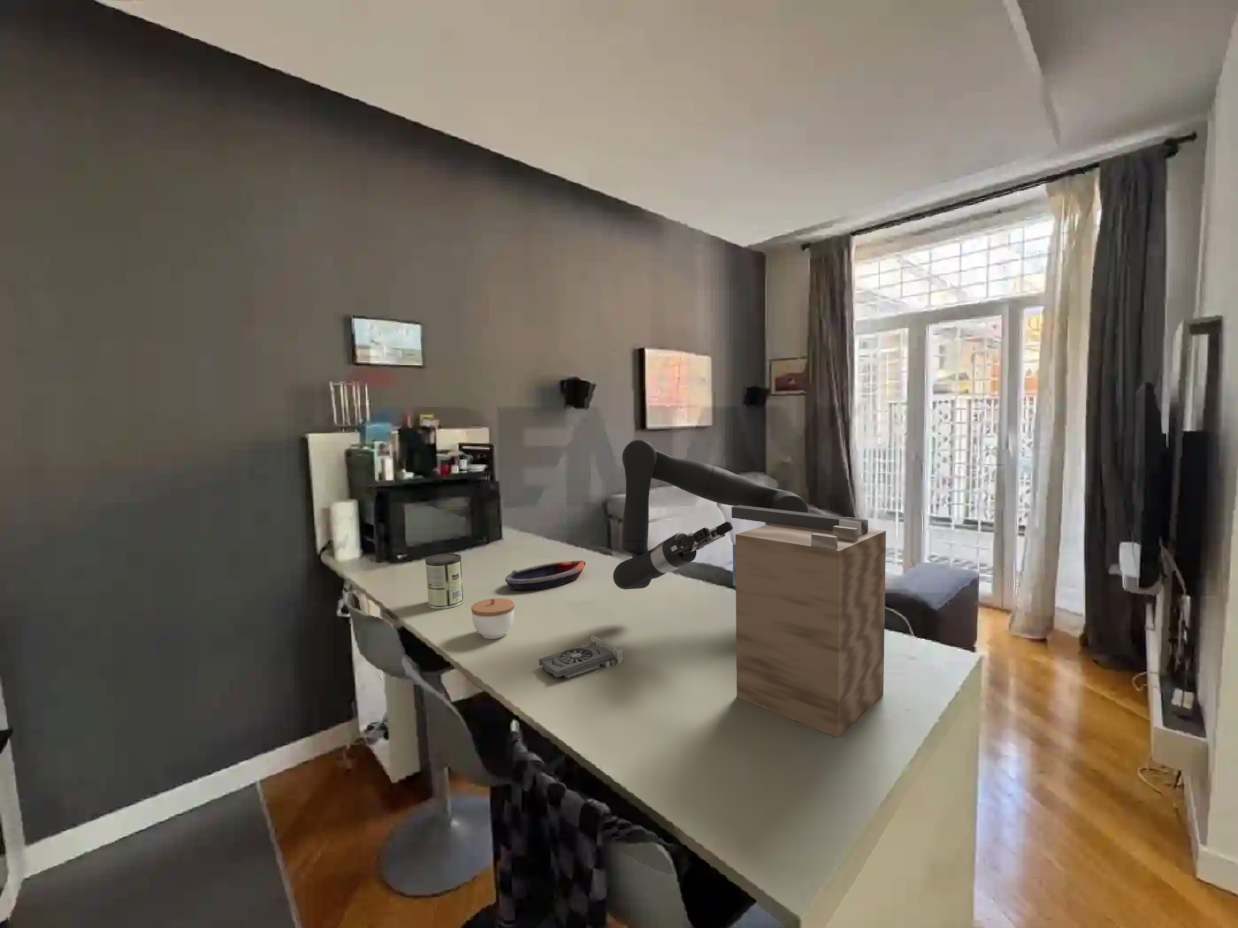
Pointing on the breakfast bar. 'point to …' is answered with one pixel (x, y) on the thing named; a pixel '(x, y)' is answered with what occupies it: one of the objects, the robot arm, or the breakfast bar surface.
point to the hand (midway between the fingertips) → (719, 527)
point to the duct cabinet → (810, 622)
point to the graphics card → (582, 659)
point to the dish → (545, 575)
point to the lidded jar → (493, 617)
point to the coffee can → (444, 581)
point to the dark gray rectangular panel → (798, 518)
